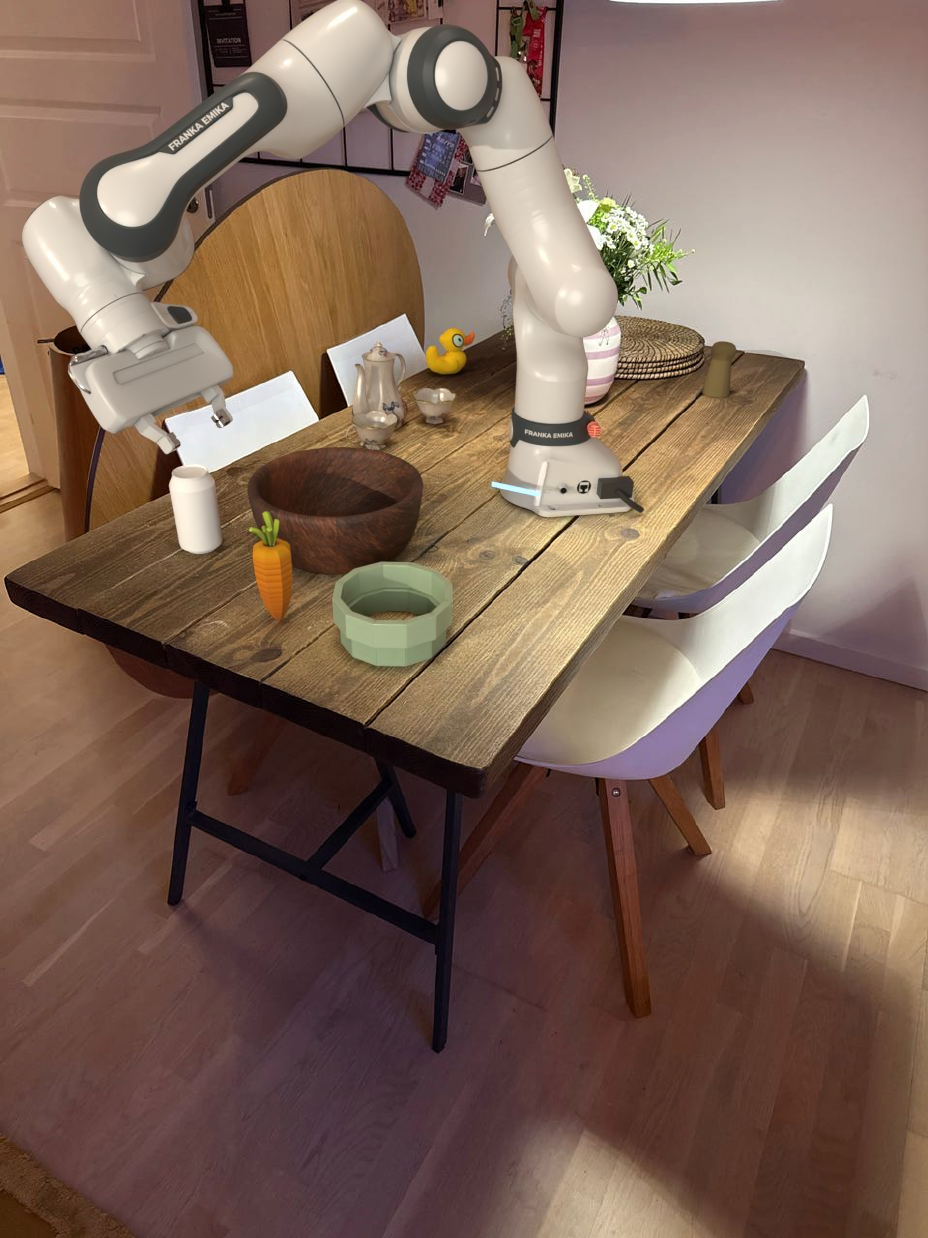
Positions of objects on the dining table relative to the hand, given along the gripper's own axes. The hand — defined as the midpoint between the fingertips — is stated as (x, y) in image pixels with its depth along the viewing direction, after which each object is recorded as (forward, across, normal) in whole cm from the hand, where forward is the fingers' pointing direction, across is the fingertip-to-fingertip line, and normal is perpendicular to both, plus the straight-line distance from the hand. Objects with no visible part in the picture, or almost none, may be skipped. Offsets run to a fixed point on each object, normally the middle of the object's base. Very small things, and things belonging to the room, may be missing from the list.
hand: (201, 436), depth 105 cm
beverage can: (+10, +9, +23) cm, 27 cm away
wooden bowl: (+21, +20, +10) cm, 30 cm away
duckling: (+6, +99, +27) cm, 103 cm away
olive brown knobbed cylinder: (+43, +118, -16) cm, 126 cm away
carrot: (+24, -2, +6) cm, 25 cm away
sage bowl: (+33, +2, -5) cm, 34 cm away
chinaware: (+10, +63, +23) cm, 68 cm away
